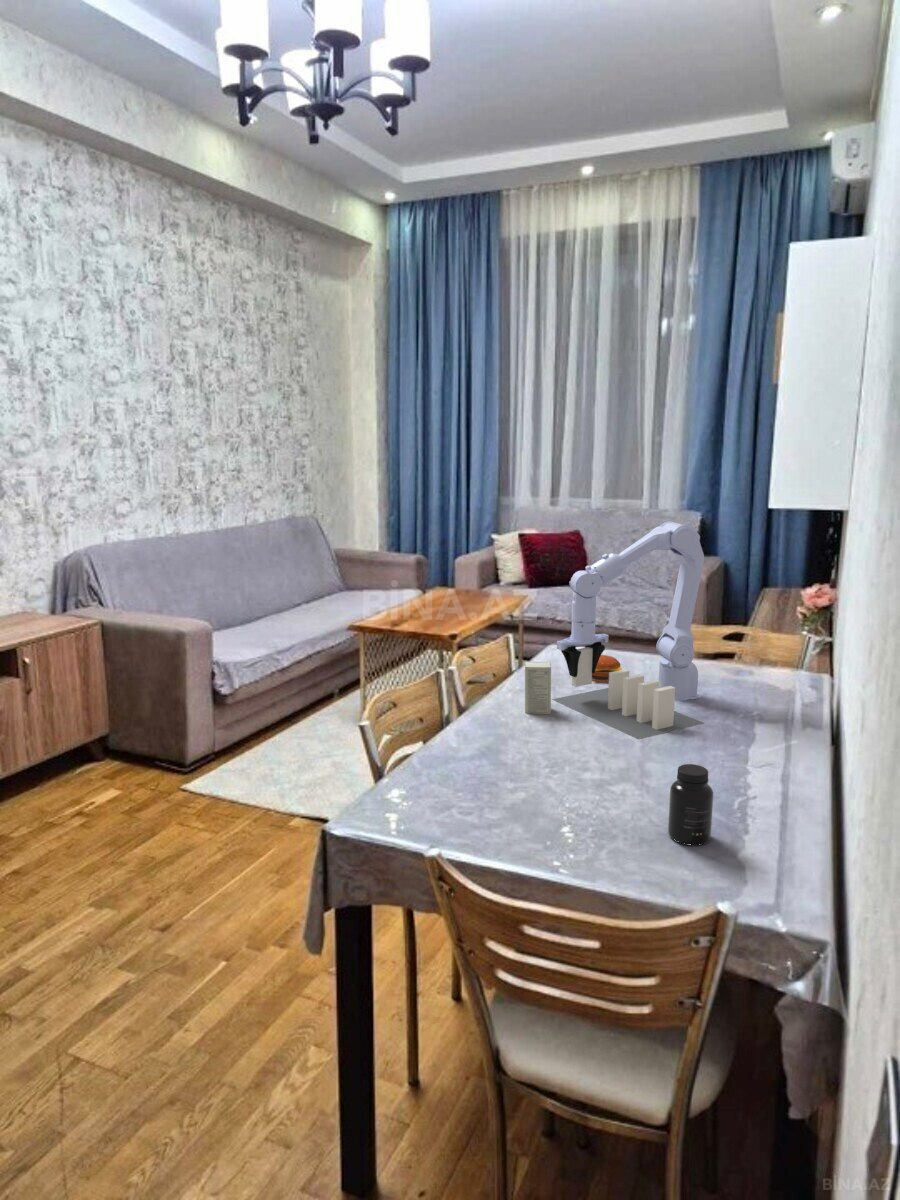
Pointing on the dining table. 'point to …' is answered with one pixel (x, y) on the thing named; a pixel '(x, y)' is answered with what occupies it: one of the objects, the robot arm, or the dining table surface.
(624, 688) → the domino
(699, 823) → the supplement bottle
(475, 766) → the dining table surface
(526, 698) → the skincare box
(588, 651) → the domino
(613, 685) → the domino
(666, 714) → the domino
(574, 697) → the mat
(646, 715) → the domino
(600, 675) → the hamburger
